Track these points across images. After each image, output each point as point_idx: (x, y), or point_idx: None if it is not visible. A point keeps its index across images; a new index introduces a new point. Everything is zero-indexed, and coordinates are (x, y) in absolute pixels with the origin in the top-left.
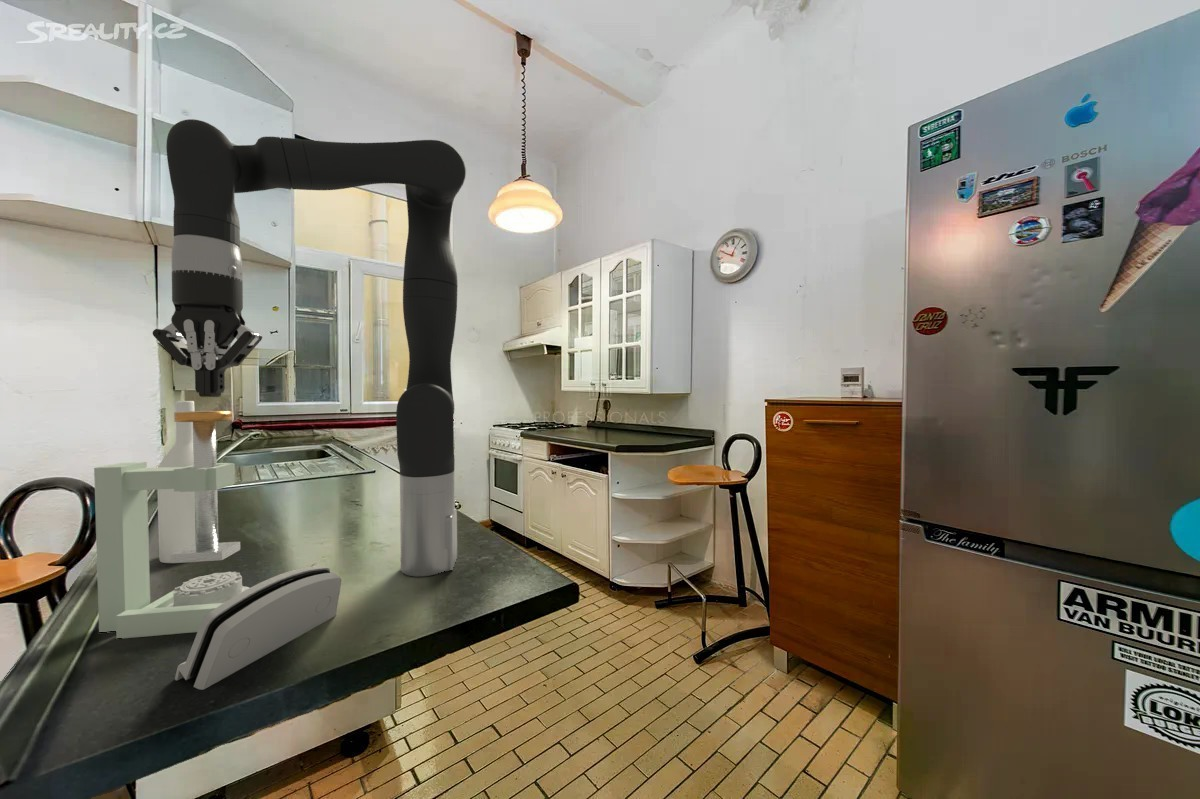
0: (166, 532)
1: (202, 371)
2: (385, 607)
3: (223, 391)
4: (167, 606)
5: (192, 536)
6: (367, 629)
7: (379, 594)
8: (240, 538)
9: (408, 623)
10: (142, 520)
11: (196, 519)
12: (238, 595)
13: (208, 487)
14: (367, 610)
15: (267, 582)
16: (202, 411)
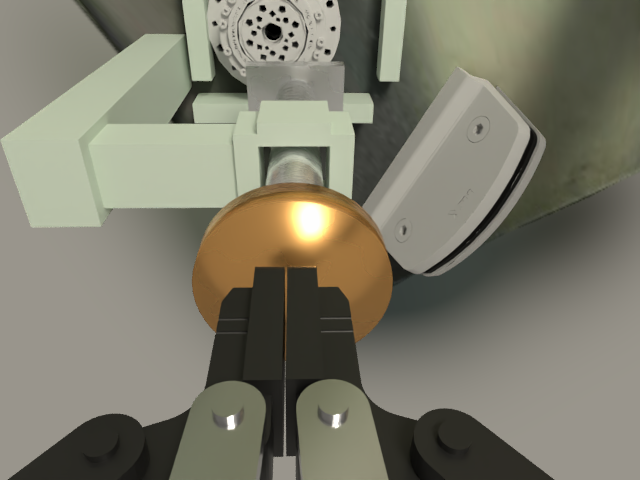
0: None
1: (275, 452)
2: (582, 80)
3: (341, 292)
4: (210, 36)
5: None
6: (555, 147)
7: (572, 20)
8: None
9: (613, 140)
10: (137, 100)
11: None
12: (436, 254)
13: None
14: (553, 85)
15: (465, 231)
16: (263, 262)
